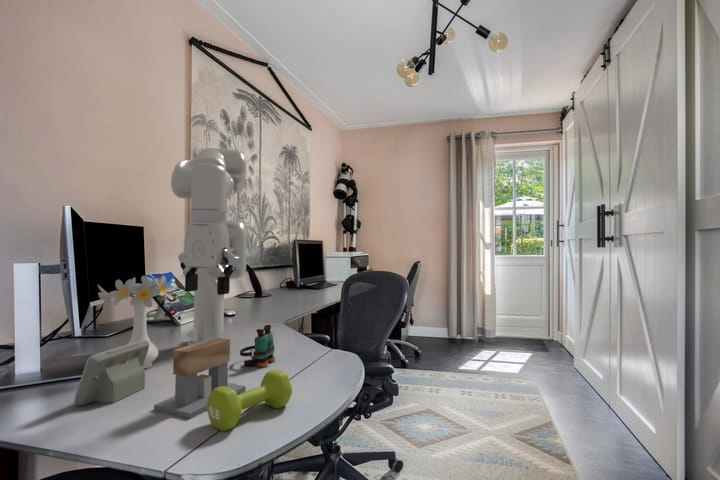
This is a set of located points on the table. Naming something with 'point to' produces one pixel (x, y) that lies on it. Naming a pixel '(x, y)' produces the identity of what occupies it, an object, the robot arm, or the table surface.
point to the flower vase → (139, 306)
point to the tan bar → (201, 356)
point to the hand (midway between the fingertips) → (207, 292)
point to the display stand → (196, 392)
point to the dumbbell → (247, 399)
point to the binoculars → (261, 348)
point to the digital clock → (113, 374)
